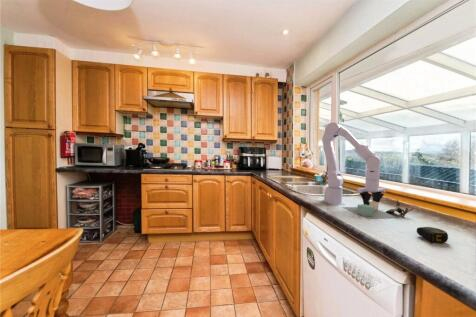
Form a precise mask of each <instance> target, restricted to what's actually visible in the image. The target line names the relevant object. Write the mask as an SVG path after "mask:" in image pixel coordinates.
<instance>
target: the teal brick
mask: <svg viewBox="0 0 476 317" xmlns="http://www.w3.org/2000/svg"><path fill="white" fill-rule="evenodd" d="M356 207H357V213H358V214H357V215H359V214H360V215H359V216H361V215H363V216H373V213H374V207H372V206H369V205H366V204H357V206H356ZM363 216H362V217H363Z"/></svg>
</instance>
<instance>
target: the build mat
mask: <svg viewBox="0 0 476 317" xmlns="http://www.w3.org/2000/svg"><path fill="white" fill-rule="evenodd" d="M357 207H358V206H349V207H348V206H347V207H346V206H343V207H341V209H342V208H343V209H345V210H348V211H349V212H352V213H353V214H357V215H359V216H362V217H363V218H366V219H368V220H380V219H381V220H383V219H384V220H385V219H387V220H389V219H401V217H400V216H397V215H393V214H390V212H386V211H383V210H379V209H378V210H374V213H373V216H363V215H360V214H358V213H357Z"/></svg>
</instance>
